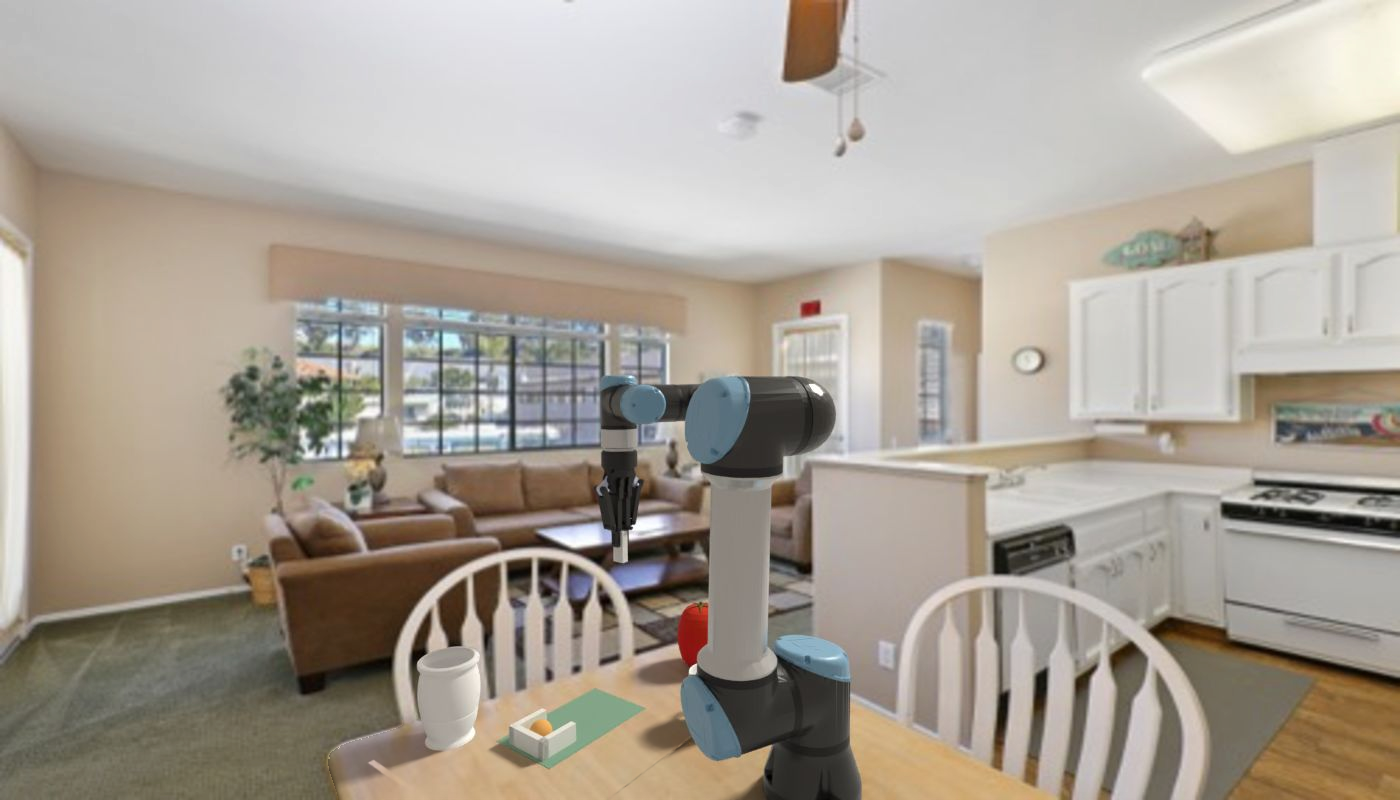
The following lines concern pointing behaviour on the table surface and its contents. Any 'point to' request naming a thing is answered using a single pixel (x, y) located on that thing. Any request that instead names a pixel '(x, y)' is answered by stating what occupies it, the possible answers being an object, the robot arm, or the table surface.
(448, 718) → the jar
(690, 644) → the tomato
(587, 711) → the putting mat
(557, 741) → the white c-shaped bracket
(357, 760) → the table surface
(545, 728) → the ball
